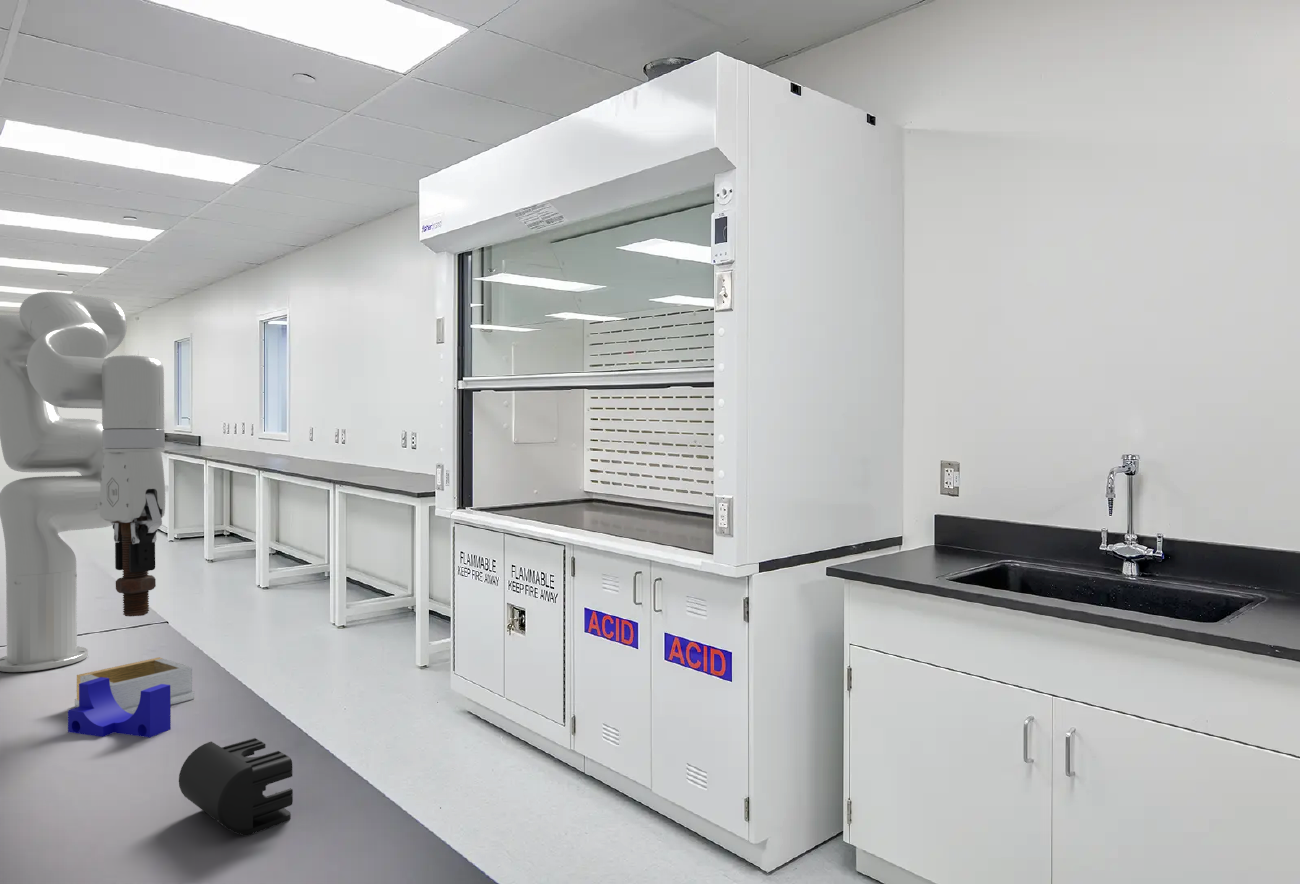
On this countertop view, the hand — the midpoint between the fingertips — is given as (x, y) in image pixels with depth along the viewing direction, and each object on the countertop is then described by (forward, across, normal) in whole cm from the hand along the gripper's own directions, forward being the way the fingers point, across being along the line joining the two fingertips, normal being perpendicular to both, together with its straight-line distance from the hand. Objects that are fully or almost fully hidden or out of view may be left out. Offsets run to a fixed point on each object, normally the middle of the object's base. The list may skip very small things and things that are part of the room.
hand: (135, 568), depth 114 cm
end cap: (+20, +47, -11) cm, 52 cm away
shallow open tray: (+19, 0, 0) cm, 19 cm away
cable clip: (+20, +10, -6) cm, 23 cm away
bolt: (+7, 0, 0) cm, 7 cm away
